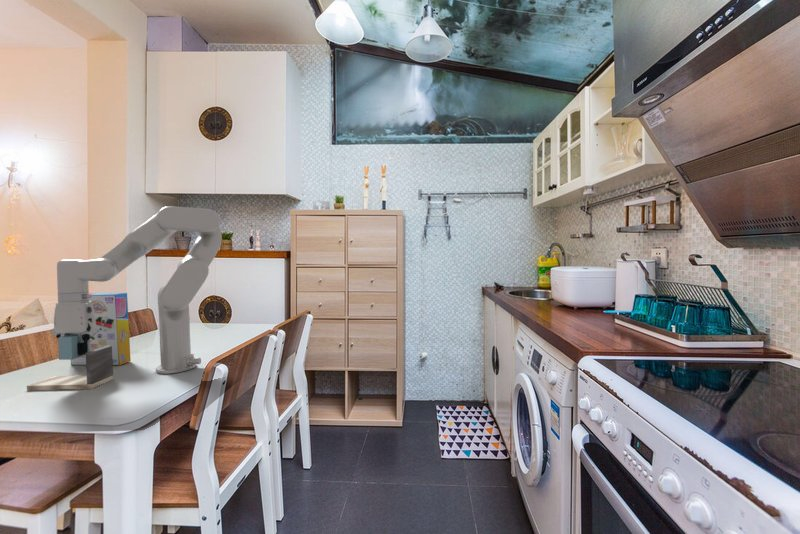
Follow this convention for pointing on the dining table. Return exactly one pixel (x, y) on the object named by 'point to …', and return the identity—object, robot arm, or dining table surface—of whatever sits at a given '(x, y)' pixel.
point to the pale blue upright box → (69, 347)
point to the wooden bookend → (97, 374)
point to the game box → (110, 327)
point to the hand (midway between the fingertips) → (75, 353)
